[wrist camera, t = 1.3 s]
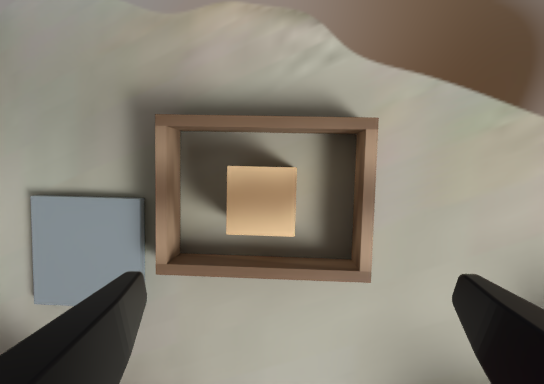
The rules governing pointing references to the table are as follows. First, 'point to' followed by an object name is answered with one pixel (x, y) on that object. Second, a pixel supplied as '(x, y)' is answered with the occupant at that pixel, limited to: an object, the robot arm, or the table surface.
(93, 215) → the slate pad
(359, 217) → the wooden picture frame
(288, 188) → the beech block
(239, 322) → the table surface
